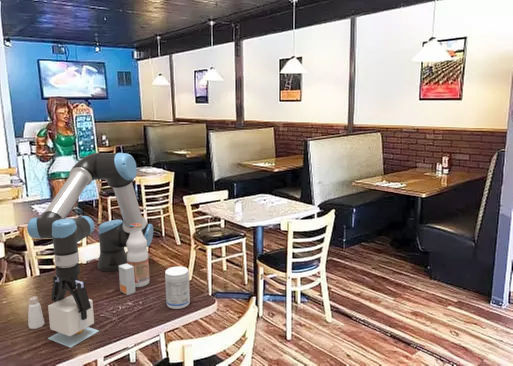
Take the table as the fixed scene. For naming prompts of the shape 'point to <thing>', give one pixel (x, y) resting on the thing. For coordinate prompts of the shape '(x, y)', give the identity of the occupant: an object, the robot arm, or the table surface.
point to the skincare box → (127, 279)
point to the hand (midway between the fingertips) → (72, 323)
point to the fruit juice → (138, 255)
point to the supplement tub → (177, 287)
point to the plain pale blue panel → (73, 337)
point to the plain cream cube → (67, 316)
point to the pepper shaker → (35, 314)
